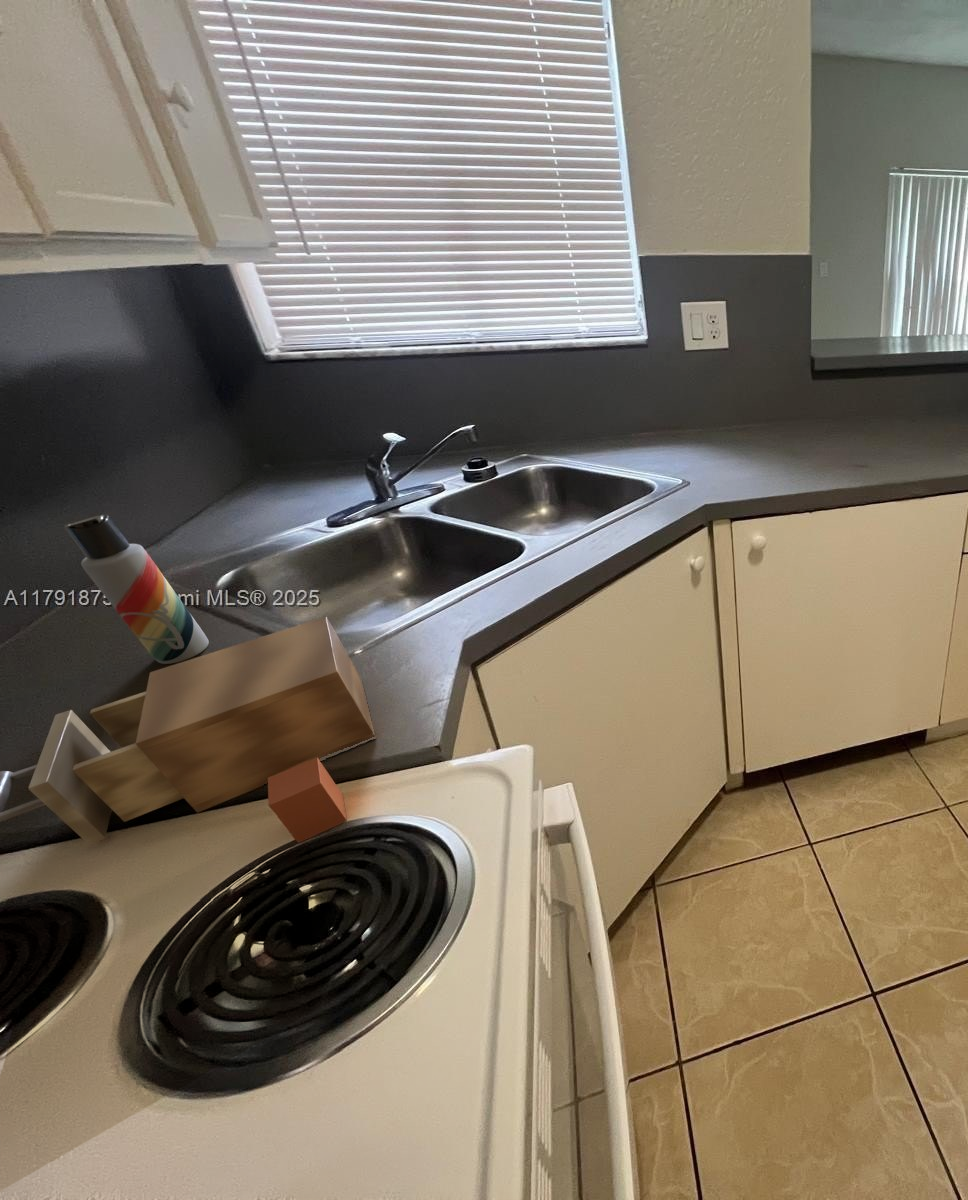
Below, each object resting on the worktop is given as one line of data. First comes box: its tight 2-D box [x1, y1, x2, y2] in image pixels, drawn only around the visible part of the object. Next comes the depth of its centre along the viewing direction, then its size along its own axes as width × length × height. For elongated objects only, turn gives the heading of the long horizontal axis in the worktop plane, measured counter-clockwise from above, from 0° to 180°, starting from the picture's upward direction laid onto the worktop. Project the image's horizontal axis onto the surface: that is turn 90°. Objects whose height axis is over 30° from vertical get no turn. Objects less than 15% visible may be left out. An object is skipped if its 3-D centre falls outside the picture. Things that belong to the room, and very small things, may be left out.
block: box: [267, 758, 348, 844], centre depth 59 cm, size 4×4×6 cm
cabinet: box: [136, 616, 376, 814], centre depth 67 cm, size 16×13×10 cm
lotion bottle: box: [64, 513, 210, 665], centre depth 79 cm, size 6×6×20 cm
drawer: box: [0, 691, 184, 845], centre depth 62 cm, size 20×12×8 cm, turn 127°
